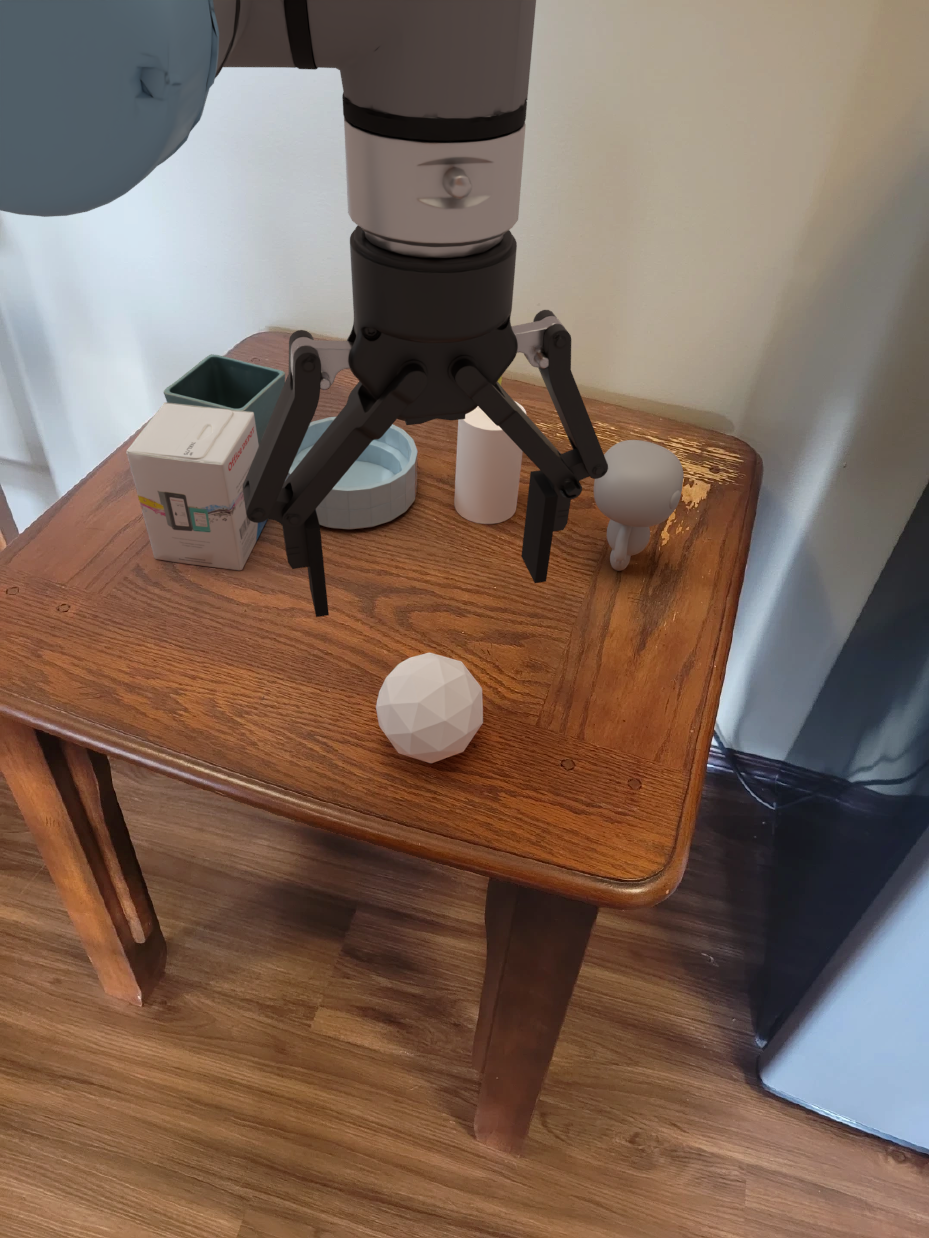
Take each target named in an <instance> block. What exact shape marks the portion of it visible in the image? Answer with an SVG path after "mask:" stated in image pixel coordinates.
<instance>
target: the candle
mask: <svg viewBox="0 0 929 1238" xmlns="http://www.w3.org/2000/svg"><path fill="white" fill-rule="evenodd" d="M498 383H499V384H500V385H501V386H502V383H503V375H502V376H501V377H500V378H499V380H498ZM515 403H516V404H517V405H518V406H519V407H520V408H521V409H522V410H523V412H524V413H525V414H526V415H527V411H526V409H525V407H524V406H523V405H521V403H519V402H517V401H515ZM457 421H458V422H457V436H456V437H457V438H456V439H457V440H456V458H455V479H454V480H455V481H454V500H453V501H454V502H453V504H454V505H453V506H454V509H455V511H456V513H457V514H458V515H459V516H460V517H462V518H464V519H465V520H467V521H470V522H473V523H475V524H481V525H494V524H499V523H500V524H501V523H502V522H505V521H508V520H509V519H511V518H512V517H513V516H514V515H515V514H516V510H517V506H518V505H517V504H518V498H519V497H518V496H519V488H520V487H519V486H520V479H521V469H522V461H523V453H524V452H523V451H522V450H521V449H520V448H519V447H518V446H517V445H516V444H515V443H514V442H513V441H512V439H511V438H510V437H509V436H508V435H507V434H506V433H505V432H504V431H503V430H502V429H501V428H500V427H499V426H497V425H496V424H495V423H494V422H493V421H492V420H491V419H490V418H489V417H488V416H487V415H486V414H485V413H484V412H483V411H482V410H481V409H480V408H479V406H478V407H477V408H476V409H474V410H473V411H471V412H470V413H468V414H465V419H461V420H457Z"/></svg>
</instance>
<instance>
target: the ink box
mask: <svg viewBox="0 0 929 1238" xmlns="http://www.w3.org/2000/svg"><path fill="white" fill-rule="evenodd" d="M258 447H259V444H258V438H257V431H256V424H255V417H254V413H253V412H249V411H248V412H247V411H239V410H229V409H219V408H210V407H202V406H193V405H184V404H175V403H167V401H166V402H163V404H162V405H161V406H160V407H159V408H158V410H157V411H156V412H155V414H154V415H153V416H152V417H151V419H150V420H149V422H148V423H147V424H146V425H145V427H144V428H143V429H142V430H141V432H140V433H139V434H138V435H137V437H136V438H135V439H134V440H133V442H132V443H131V444H130V445H129V447H128V448H127V449H126V451H125V453H126V456H127V461H128V464H129V469H130V472H131V475H132V480H133V483H134V487H135V491H136V494H137V498H138V501H139V506H140V509H141V512H142V516H143V520H144V523H145V528H146V532H147V535H148V539H149V544H150V546H151V551H152V555H153V559H155V560H160V561H165V562H171V563H172V562H173V563H177V564H178V563H179V564H188V565H194V566H203V567H210V568H218V569H225V570H232V571H233V570H234V571H242V570H243V569H244V567H245V565H246V563H247V561H248V559H249V557H250V555H251V553H252V551H253V549H254V548H255V545H256V544H257V541H258V539H259V537H260V536H261V534H262V532H263V530H264V528H265V525H266V524H267V522H268V520H269V519H267V520H265V521H264V522H260V523H254V522H252V521H250V520H249V519H248V518H247V515H246V509H245V502H244V495H243V483H244V481H245V478H246V476H247V474H248V471H249V469H250V466H251V464H252V461H253V459H254V457H255V454H256V452H257V449H258Z"/></svg>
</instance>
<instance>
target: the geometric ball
mask: <svg viewBox="0 0 929 1238" xmlns="http://www.w3.org/2000/svg"><path fill="white" fill-rule="evenodd" d="M483 705H484V704H483V687H482V686H481V685H480V683H479V682H478V681H477V680H476V678H475V677H474V676H473V674H472V673H471V672H470V670H469V669H468V668H467V667H466V665H465V664H464V662H463V661H461V660H458V659H454V658H451V657H447V656H444V655H440V654H437V653H433V652H431V651H430V652H426V653H423V654H418V655H415V656H412V657H408V658H406V659H404V660H403V661H401V662H399V663H398V664H396V666H395V667H394V668H393V669H392V670H391V672H390V673H388V675H386V677H385V679H384V681H383V683H382V685H381V687H380V689H379V691H378V695H377V700H376V703H375V711H376V716H377V722H378V726H379V728H380V729H381V731H382V732H383V734H384V735H385V736H386V738H387V739H388V741H389V742H390V744H391V745H392V746H393V748H394V750H395V751H396V752H397V753H398V754H400V755H403V756H405V757H409V758H413V759H415V760H419V761H422V762H424V763H425V762H426V763H428V764H433V763H436V762H439V761H442V760H444V759H446V758H450V757H452V756H456V755H458V754H461V753H463V752H465V750H466V748H467V747H468V746H469V744H470V742H471V741H472V740H473V738H474V737H475V735H476V734H477V733H478V731H479V729H480V728H481V727H482V725H483V724H484V706H483Z"/></svg>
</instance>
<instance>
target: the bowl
mask: <svg viewBox="0 0 929 1238" xmlns="http://www.w3.org/2000/svg"><path fill="white" fill-rule="evenodd" d="M336 417H337V416H329V417H325V418H321V419H317V420H312V421H311V423H310V425H309V427H308V430H307V432H306V434H305V437H304V439H303V441H302V443H301V446H300V448H299V450H298V452H297V455H296V457H295V459H294V461H293V464H292V466H291V468H290V470H289V473H288V475H287V477H286V479H287V478H288V477H289V476H290V474H291V473H292V472H293V471H294V469H295V468H296V467H297V466H298V464H299V463H300V462H301V461H302V459H303V458H304V457H305V456H306V454H307V453H308V452H309V451H310V449H311V448H312V447H313V446H314V444H315V443H316V442H317V440H318V439H319V438H320V437H321V435H322V434H323V433H324V432H325V430H326V429H327V428H328V427H329V425H330V424H331V423H332V422H333V420H334V419H335V418H336ZM418 454H419V453H418V448H417V446H416V443H415V440H414V438H413V437H411V435H410V434H408V432H406V430H405V429H403V428H402V427H399V426H397V425H395V424H394V423H393V424H392V425H391V427H390V428H389V429H388V430H387V431H386V433H385V434H384V435H383V436H382V437H381V438H380V439H378V440H376V439H374V440H373V441H372V442H371V443H370V444H369V445H368V447H367V448H366V449H365V450H364V451H363V453H362V454H361V455H360V456H359V457H358V459H357V460H356V461H355V462H354V463H353V465H352V466H351V467H350V468H349V469H348V471H347V472H346V473H345V474H344V475H343V477H342V478H341V479H340V480H339V481H338V483H337V484H336V485H335V486H334V487H333V489H332V490H331V491H330V492H329V494H328V495H327V496H326V497H325V498H324V500H323V501H322V502H321V503H320V504H319V506H318V507H317V508H316V513H317V517H318V521H319V525H320V526H323V527H326V528H329V529H330V528H331V529H339V530H340V529H342V530H355V529H356V530H357V529H364V528H373V527H376V526H379V525H383V524H385V523H389V522H391V521H393V520H395V519H396V518H398V517H399V516H401V515H403V514H404V513H406V512H407V510H408V509H409V508H410V507H411V506H412V505H413V503H414V502H415V500H416V496H417V490H418V458H419V457H418V456H419V455H418ZM285 481H286V480H285Z"/></svg>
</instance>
